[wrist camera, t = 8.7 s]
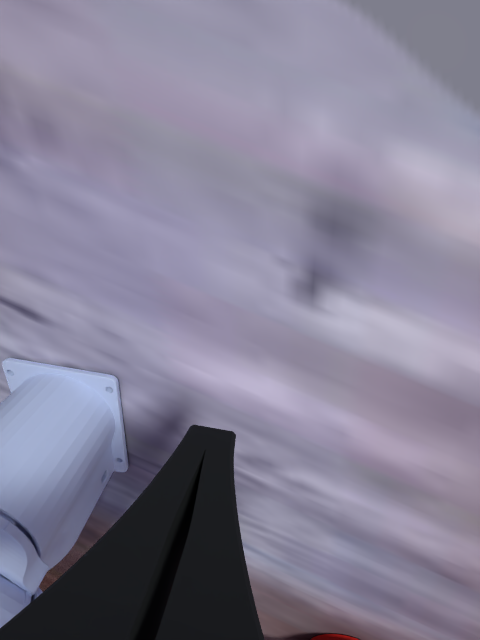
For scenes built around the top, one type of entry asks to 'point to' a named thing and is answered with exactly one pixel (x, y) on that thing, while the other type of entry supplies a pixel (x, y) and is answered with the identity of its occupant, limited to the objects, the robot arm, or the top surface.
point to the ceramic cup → (333, 637)
